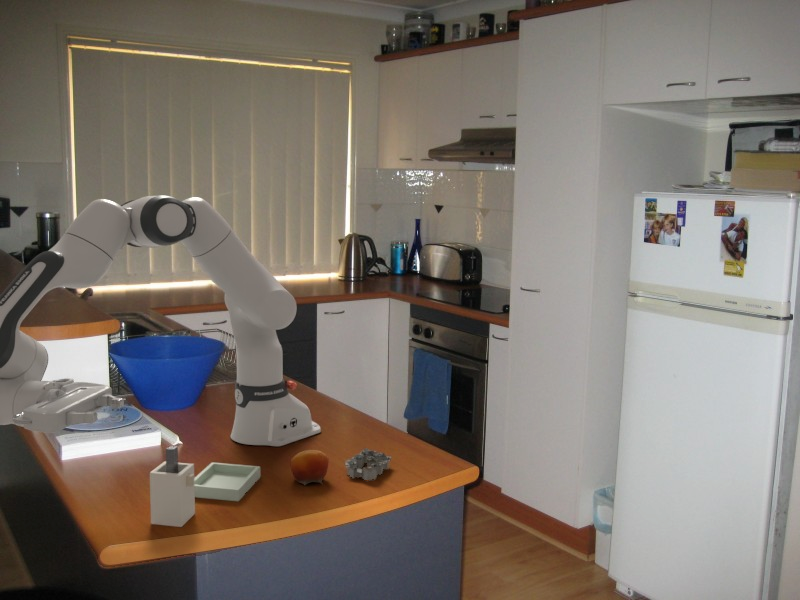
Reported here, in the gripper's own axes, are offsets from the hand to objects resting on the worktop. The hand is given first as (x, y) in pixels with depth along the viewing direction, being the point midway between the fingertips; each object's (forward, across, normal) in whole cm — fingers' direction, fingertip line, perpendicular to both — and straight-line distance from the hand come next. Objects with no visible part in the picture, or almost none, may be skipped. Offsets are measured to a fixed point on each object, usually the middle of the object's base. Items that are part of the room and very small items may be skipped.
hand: (109, 410), depth 149 cm
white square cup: (+12, 0, +20) cm, 24 cm away
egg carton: (+43, +32, +20) cm, 57 cm away
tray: (+16, +17, +20) cm, 31 cm away
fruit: (+32, +24, +20) cm, 45 cm away
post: (+12, 0, +20) cm, 24 cm away
